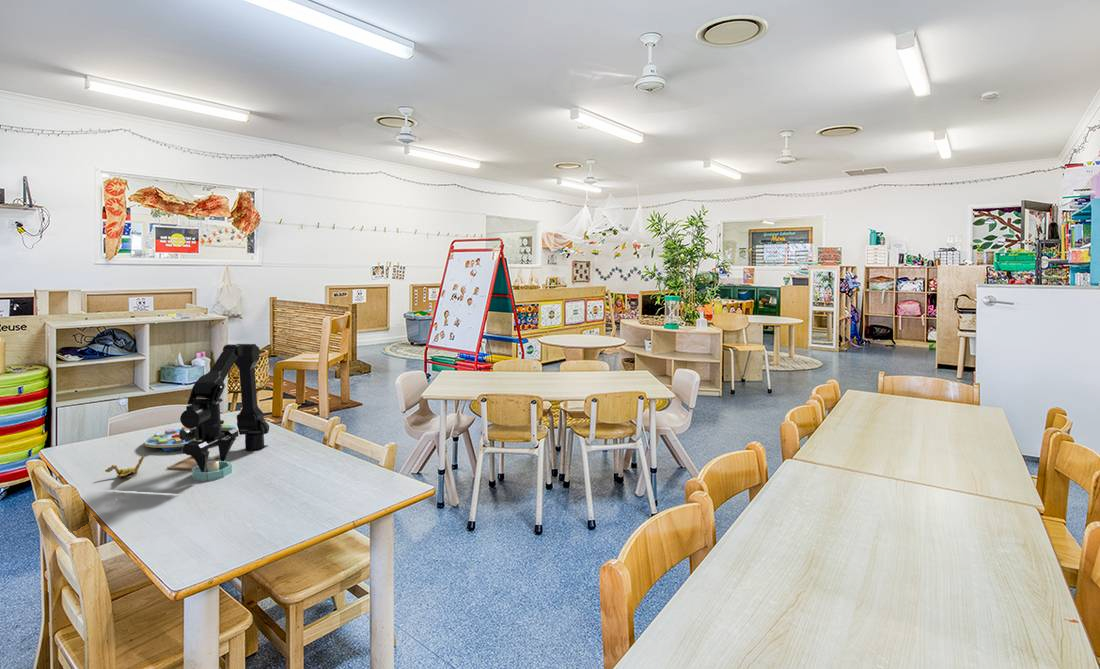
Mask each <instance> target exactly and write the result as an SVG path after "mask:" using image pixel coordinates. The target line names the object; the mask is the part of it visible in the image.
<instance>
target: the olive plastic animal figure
mask: <svg viewBox="0 0 1100 669" xmlns="http://www.w3.org/2000/svg"><path fill="white" fill-rule="evenodd" d="M144 459H145V455H141V457H140V458H139V460H138V462H137V464H136V466H135V467H134V468H133V467H128V468H123V469H122V468H120V469H119V468H118V465H116V464H115V465H114V464H112V465H111V466H110V467H108V468H107V469H105V470H104V472H106V473H110V472H112V471H114V470H115V472H116V474H117V475H118V477H119V480H120V479H123V478H124V477H126V476H127V475H129V474H132V473H133V475H135V476H137V474H138V470H139V468H140V466H141V464H143V460H144Z"/></svg>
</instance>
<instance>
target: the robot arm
mask: <svg viewBox="0 0 1100 669" xmlns="http://www.w3.org/2000/svg"><path fill="white" fill-rule="evenodd" d="M260 353H261V351H260V347H259V346H257V344H256V343H236V344H232V343H231V344H226V345H224V346H223V347H222V352H221V353H220V355H219V356H218V357H217V359H216V360H215V362H214V364H213V365H212V366H211V369H210V370H209V371H208V372H207V373H205V374H203V375H201V376H199V378H198V379H197V380H196V381H195V382H194V384H193V386H192V389H191V392H190V395H189V397H188V400H187V405H186V407H185V408H186V409H185V410H184V411H183V412H181V415H180V417H179V419H180V424H181V425H182V427H183V426H185V427H186V429H183V430H181V431H180V433H179V436H180V439H181V440H185V442H188V441H189V440H192V439H195V440H202V441H191V442H189V443H187V444H184V446H183V447H182V449H181V453H182V455H186V456H189V457H190V456H192V457H193V458H194V459H195V461H196V463H197V465H198V466H199V468H200V470H201V472H205V470H206V466H207V461H208V457H210V456H209V454H210V451H208V450H209V448H210V445H211V444H217V447H218V453H219V457H220V459H221V461H226V458H227V456H228V454H229V452H230V450H231V448H232V447H233V444H234V443H235V441H236V440H237V437H239V435H240V436H242V435H244V445H245V447H244V448H243V449H241V451H244V452H259V451H262V450H264V449H265V448H267V447H269V444H266V445H265V436H264V435H266V434H269V431H270V424H269V423H268V422H267V421H266V420H265V417H264V413H263V411H262V409H260V407H259V406H258V398H257V397H258V395H257V381H256V370H255V369H256V365H258V362H259V361H260ZM234 365H235V366H236V368H237V369H238V370H239V371H238V372H239V383H240V384H239V385H240V395H241V397H240V399H241V410H240V411H239V413H238V414H237V415H236V426H237V427H238V430H237V429H236V428H221V424H225V420H224V419H223V420H222V419H221V405H220V403H222V402H223V399H222V398H221V396H222V394H223V393H224V391H225V387H226V386H225V380H226V377H227V376H228V374H229V373H230V371H231V370H232V368H233V366H234ZM195 427H196V428H195ZM188 428H193V429H191V430H189V429H188ZM208 441H209V442H208ZM214 442H216V443H214Z"/></svg>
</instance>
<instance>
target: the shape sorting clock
mask: <svg viewBox="0 0 1100 669" xmlns="http://www.w3.org/2000/svg"><path fill="white" fill-rule="evenodd" d="M195 428H196V427H195ZM221 428H236V429H237V430H238V427H237V425H235V424H227V423H226V424H225V423H224V424H221ZM183 429H186V427H185V426H183V425H182V427H180V428H168V429H165V431H163V432H156V433H153V435H151V436H149V437H146V438H145V439H144V440H143V445H144V446H146V447H149V448H155V449H156V448H159V449H160V448H161V449H163V452H164V453H165V452H170V451H175V450H182V447H183V446H184V444H187V443H189V442H191V441H202V440H195V439H192V440H189V441H188V442H185V440H181V439H180V436H179V433H180V431H181V430H183ZM188 429H189V430H191V429H193V428H188ZM208 442H209V441H208ZM213 444H217V443H216V442H214V443H213Z"/></svg>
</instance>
